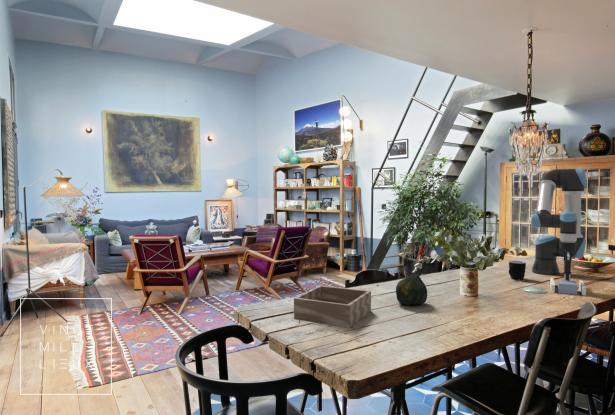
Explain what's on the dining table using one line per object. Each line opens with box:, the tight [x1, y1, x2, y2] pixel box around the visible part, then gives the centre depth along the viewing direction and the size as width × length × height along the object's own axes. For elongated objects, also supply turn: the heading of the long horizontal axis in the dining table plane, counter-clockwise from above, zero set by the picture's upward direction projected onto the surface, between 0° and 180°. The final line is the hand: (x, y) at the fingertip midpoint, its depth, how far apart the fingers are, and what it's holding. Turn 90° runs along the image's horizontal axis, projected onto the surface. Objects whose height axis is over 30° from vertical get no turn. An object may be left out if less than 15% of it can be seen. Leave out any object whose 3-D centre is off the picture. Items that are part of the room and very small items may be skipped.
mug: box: [508, 260, 527, 281], centre depth 251 cm, size 12×9×10 cm
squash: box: [395, 273, 428, 306], centre depth 203 cm, size 14×15×15 cm
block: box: [557, 279, 578, 295], centre depth 221 cm, size 8×8×5 cm
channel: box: [549, 277, 587, 297], centre depth 225 cm, size 18×15×4 cm
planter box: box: [293, 285, 372, 329], centre depth 187 cm, size 25×25×9 cm
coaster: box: [522, 286, 548, 294], centre depth 225 cm, size 11×11×1 cm
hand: (567, 285), depth 225 cm, fingers closed
